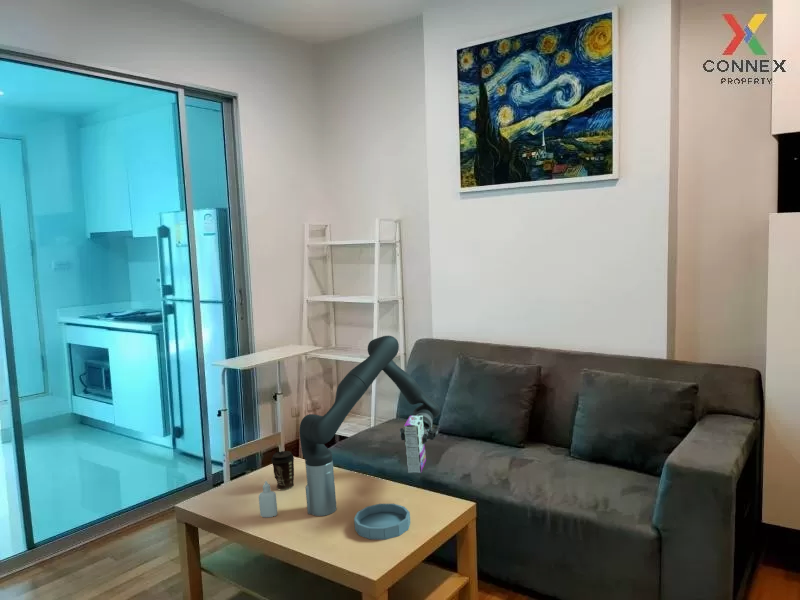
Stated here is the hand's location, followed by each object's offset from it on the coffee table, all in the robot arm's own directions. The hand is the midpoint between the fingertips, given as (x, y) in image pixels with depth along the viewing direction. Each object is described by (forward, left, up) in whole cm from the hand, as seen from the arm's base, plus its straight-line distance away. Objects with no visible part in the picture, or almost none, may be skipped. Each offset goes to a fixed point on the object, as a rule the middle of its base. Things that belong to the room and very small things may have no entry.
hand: (415, 440), depth 198 cm
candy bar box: (0, 0, -9) cm, 9 cm away
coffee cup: (-54, +16, -23) cm, 61 cm away
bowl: (-10, -15, -22) cm, 29 cm away
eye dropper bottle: (-51, -8, -23) cm, 56 cm away
